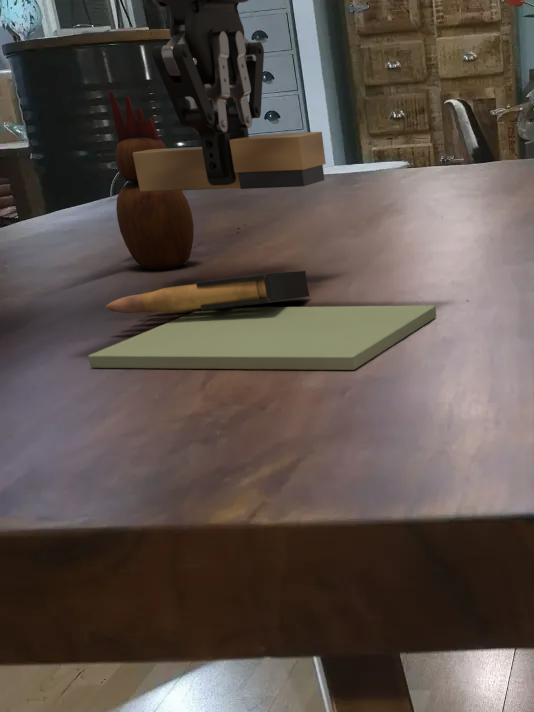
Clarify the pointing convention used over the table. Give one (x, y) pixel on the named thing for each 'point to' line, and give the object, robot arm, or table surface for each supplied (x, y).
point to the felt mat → (268, 338)
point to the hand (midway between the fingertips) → (232, 180)
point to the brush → (237, 164)
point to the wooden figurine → (148, 200)
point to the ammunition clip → (218, 294)
